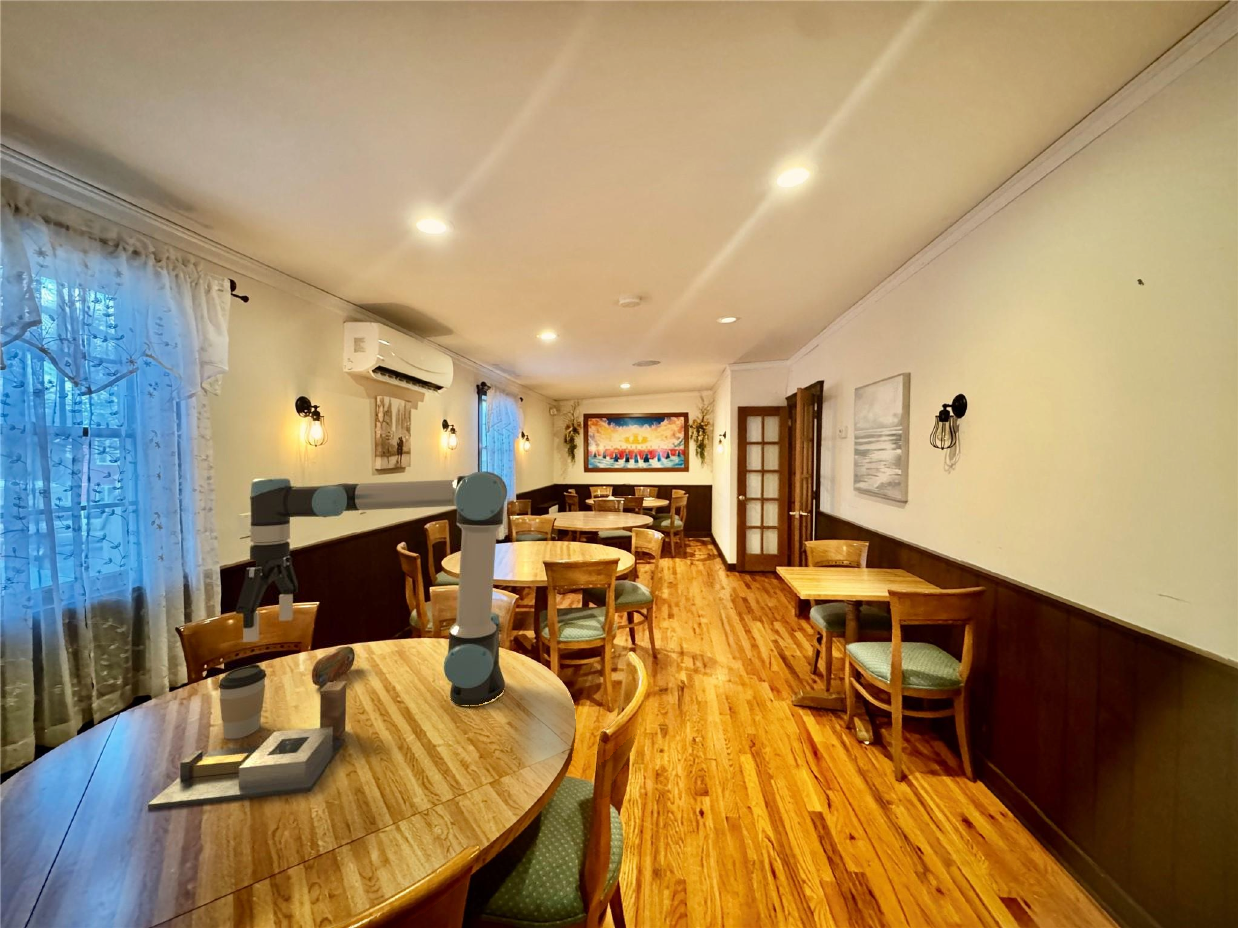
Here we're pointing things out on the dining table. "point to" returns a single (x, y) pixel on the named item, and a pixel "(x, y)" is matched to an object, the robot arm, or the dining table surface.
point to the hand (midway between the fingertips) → (269, 629)
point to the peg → (333, 707)
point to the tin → (333, 666)
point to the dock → (260, 770)
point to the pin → (210, 765)
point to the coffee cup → (242, 700)
